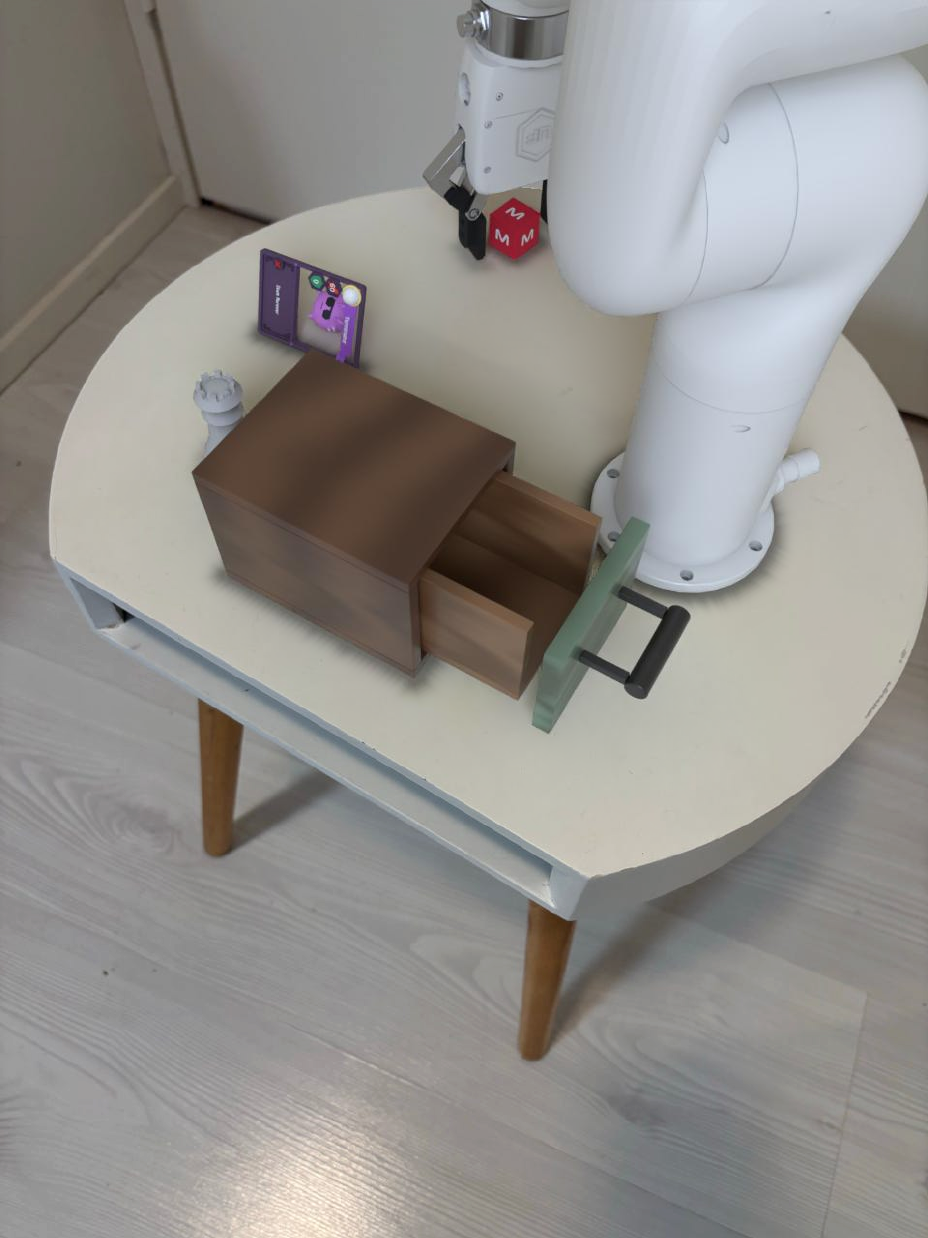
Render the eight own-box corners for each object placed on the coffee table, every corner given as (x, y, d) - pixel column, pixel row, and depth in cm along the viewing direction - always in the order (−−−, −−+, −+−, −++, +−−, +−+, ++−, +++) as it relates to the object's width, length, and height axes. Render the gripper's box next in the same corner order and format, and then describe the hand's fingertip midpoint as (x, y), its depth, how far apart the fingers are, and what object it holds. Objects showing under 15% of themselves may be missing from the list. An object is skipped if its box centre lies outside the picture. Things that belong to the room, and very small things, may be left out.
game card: (254, 250, 71) (359, 290, 69) (293, 233, 75) (394, 269, 73) (252, 335, 76) (350, 375, 74) (289, 314, 80) (384, 351, 78)
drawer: (687, 636, 62) (720, 556, 54) (613, 769, 57) (638, 702, 49) (447, 518, 66) (447, 429, 58) (360, 632, 61) (348, 551, 54)
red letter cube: (537, 243, 83) (540, 212, 80) (514, 260, 81) (517, 229, 79) (511, 227, 84) (513, 196, 81) (488, 244, 82) (489, 213, 80)
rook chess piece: (258, 493, 68) (236, 414, 61) (197, 482, 69) (169, 403, 62) (276, 446, 70) (258, 364, 64) (218, 436, 71) (193, 354, 64)
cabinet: (507, 547, 66) (516, 441, 57) (414, 678, 61) (408, 585, 52) (329, 460, 70) (311, 347, 61) (227, 576, 65) (190, 471, 55)
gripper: (437, 74, 63) (439, 294, 78) (663, 15, 67) (623, 235, 82) (390, 18, 66) (401, 239, 82) (608, -35, 70) (580, 185, 86)
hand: (513, 235), depth 82 cm, fingers open, 6 cm apart
